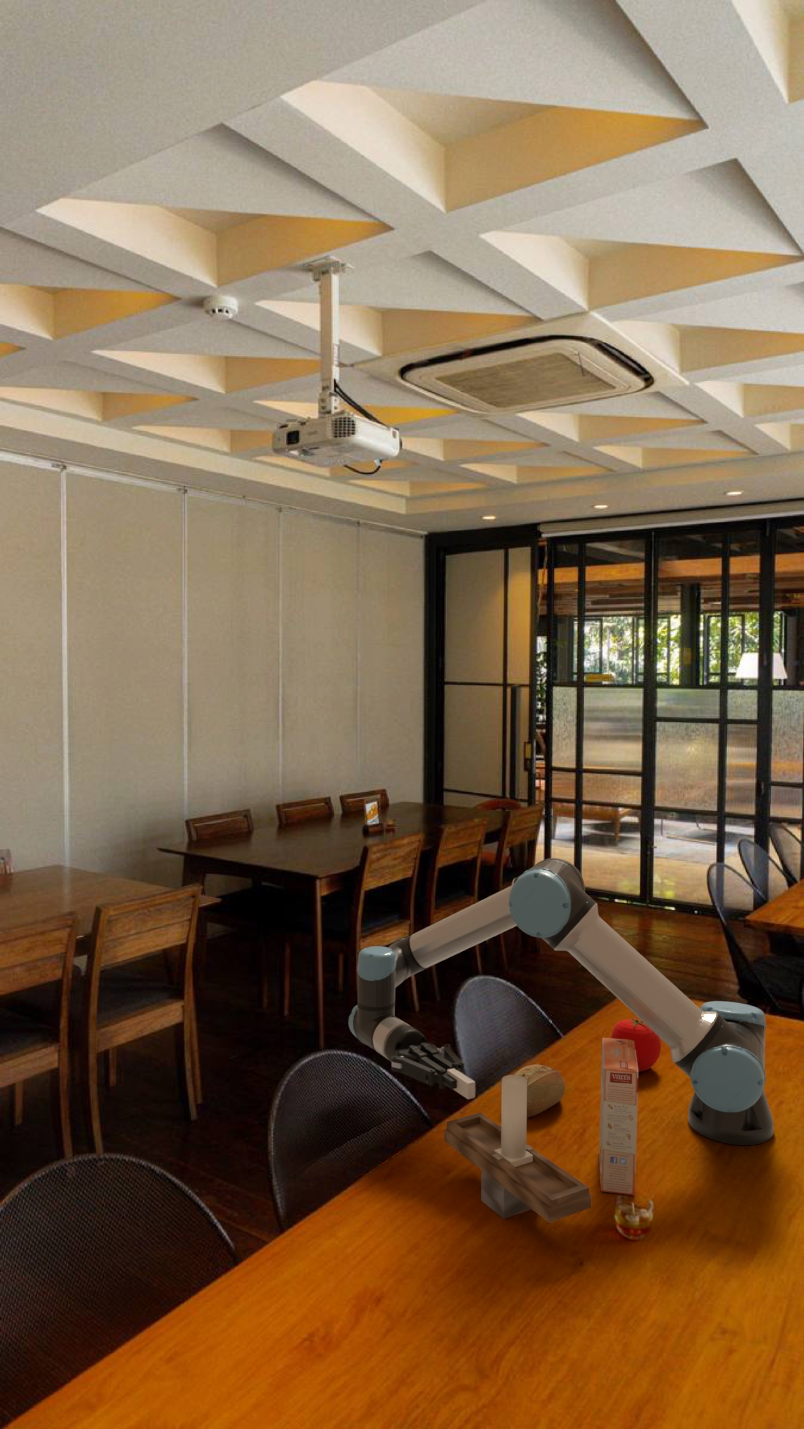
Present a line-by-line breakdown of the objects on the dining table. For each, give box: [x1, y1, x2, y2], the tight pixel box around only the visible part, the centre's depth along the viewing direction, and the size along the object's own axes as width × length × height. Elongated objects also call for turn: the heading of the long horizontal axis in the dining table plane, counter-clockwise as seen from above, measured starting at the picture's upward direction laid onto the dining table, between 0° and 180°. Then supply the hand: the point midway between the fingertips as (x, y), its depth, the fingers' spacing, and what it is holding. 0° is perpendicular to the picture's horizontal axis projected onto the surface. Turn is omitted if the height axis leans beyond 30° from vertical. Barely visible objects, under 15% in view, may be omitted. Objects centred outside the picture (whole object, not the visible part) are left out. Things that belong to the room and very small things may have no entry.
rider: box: [494, 1074, 533, 1167], centre depth 151 cm, size 4×4×13 cm
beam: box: [443, 1112, 592, 1224], centre depth 151 cm, size 28×8×8 cm, turn 31°
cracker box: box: [598, 1037, 639, 1196], centre depth 160 cm, size 14×6×21 cm, turn 169°
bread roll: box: [514, 1063, 566, 1118], centre depth 185 cm, size 10×15×8 cm, turn 138°
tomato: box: [610, 1017, 662, 1073], centre depth 204 cm, size 10×11×11 cm
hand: (471, 1090), depth 161 cm, fingers closed
